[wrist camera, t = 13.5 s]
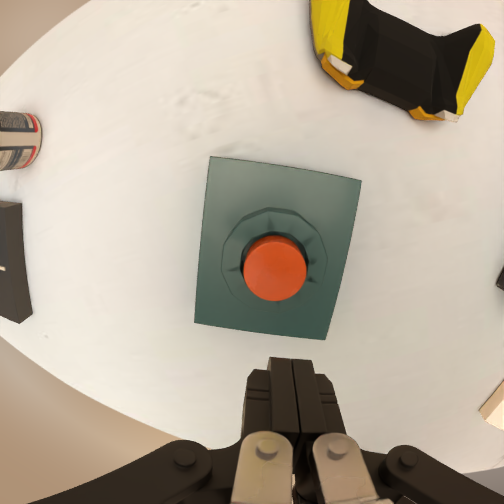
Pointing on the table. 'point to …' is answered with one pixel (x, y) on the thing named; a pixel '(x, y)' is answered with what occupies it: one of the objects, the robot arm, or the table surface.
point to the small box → (501, 282)
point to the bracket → (494, 408)
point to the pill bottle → (18, 139)
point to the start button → (274, 268)
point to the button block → (265, 224)
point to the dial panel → (13, 265)
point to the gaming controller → (400, 58)
